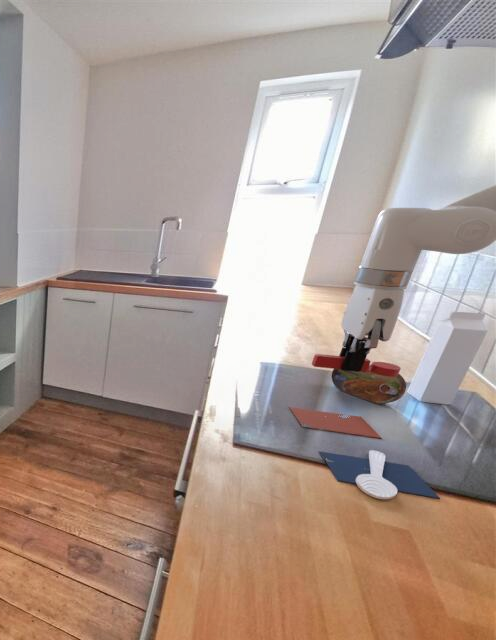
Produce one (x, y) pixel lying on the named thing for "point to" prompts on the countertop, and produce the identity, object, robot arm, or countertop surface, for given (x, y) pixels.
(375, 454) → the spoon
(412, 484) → the blue mat
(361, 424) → the terracotta mat
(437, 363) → the milk
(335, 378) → the tin
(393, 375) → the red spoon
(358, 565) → the countertop surface
